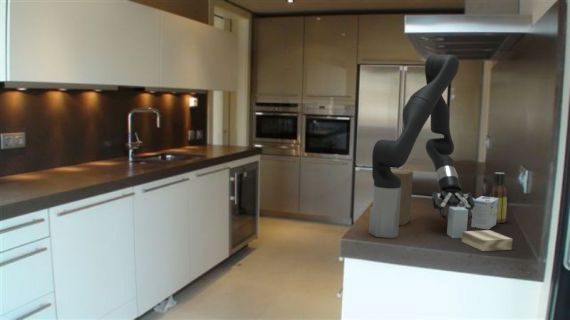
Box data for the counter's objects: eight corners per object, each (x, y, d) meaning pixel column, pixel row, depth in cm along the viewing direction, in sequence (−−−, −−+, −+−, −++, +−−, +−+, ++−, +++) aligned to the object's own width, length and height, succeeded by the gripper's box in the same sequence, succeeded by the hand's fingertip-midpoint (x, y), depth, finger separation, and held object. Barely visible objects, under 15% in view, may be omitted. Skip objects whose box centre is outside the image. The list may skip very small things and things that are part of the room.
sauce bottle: (501, 219, 201) (505, 171, 198) (508, 223, 194) (512, 174, 192) (485, 219, 200) (489, 171, 198) (492, 223, 194) (496, 173, 192)
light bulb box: (479, 222, 196) (481, 195, 195) (496, 225, 192) (498, 197, 191) (470, 227, 188) (472, 199, 186) (488, 230, 184) (491, 201, 182)
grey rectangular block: (451, 237, 171) (453, 209, 170) (446, 234, 176) (448, 206, 175) (466, 238, 171) (468, 210, 170) (460, 234, 176) (462, 207, 175)
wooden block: (410, 220, 194) (413, 170, 192) (403, 226, 186) (406, 173, 183) (385, 217, 199) (388, 168, 197) (377, 222, 191) (380, 171, 188)
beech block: (483, 251, 156) (483, 240, 156) (461, 241, 167) (462, 231, 167) (511, 249, 160) (512, 238, 159) (489, 239, 170) (489, 230, 170)
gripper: (431, 174, 181) (440, 212, 171) (470, 175, 181) (480, 213, 171) (426, 186, 187) (434, 223, 177) (463, 187, 187) (473, 224, 177)
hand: (457, 218), depth 174 cm, fingers open, 8 cm apart
